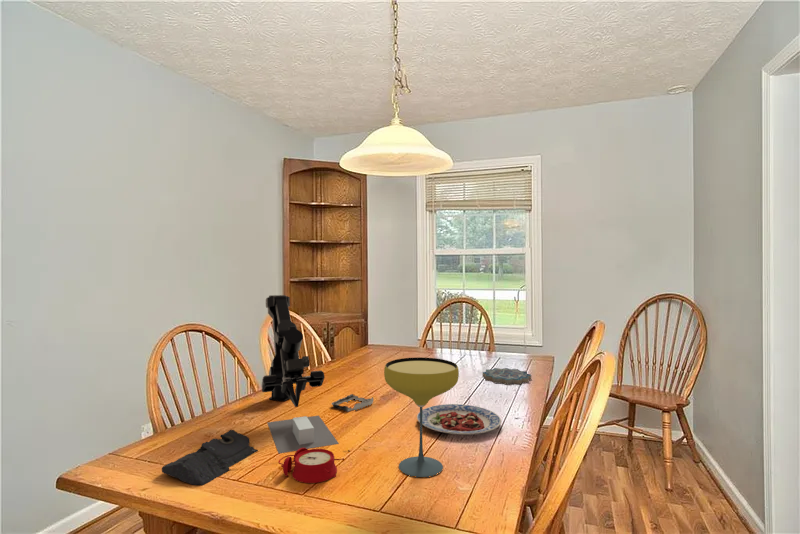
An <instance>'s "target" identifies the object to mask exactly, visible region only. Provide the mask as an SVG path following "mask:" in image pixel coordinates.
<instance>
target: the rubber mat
mask: <svg viewBox="0 0 800 534" xmlns="http://www.w3.org/2000/svg"><path fill="white" fill-rule="evenodd" d="M307 418H308V419H309V421H310V422H311V424H312V426H313V427H314V442H313V443H307V444H301V445H299V443H298V441H297V439H296V437H295V435H294V433H293V418H292V419H283V420H276V421H269V422H266V423H267V426H268V429H269V431H270V432H269V433H270V434H271V437H272V440H273V442H274V445H275V448H276V451H277V453H278V454H286V453H291V452H296V451H297V450H298V449H300V448H307V449H308V450H311V449H317V448H321V447H327V446H335V445H339V444H340V443H339V441H338V440H337V439H336V437H335V436H334V434H333V433H332V431H331V430H330V429H329V428H328V426H327V424H325V422H324V421H323V419H322V418H321V417H320V415H314V416H313V415H312V416H307Z"/></svg>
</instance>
